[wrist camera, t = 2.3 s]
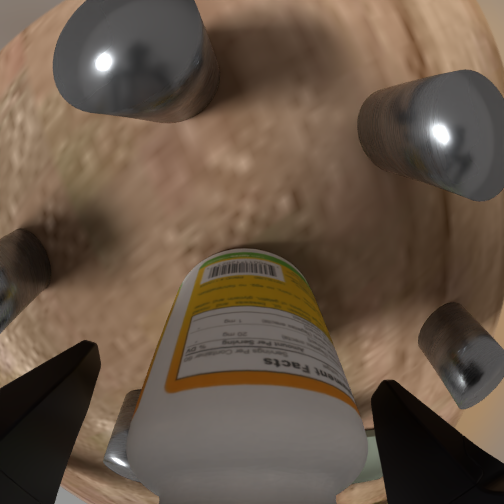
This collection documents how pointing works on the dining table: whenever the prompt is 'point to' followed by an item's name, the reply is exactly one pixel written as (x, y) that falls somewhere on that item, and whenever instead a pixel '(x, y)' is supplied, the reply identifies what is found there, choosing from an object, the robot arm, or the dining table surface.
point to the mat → (370, 461)
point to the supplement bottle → (246, 393)
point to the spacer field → (198, 97)
